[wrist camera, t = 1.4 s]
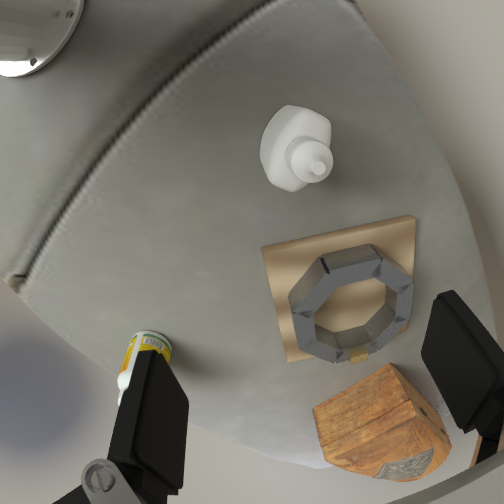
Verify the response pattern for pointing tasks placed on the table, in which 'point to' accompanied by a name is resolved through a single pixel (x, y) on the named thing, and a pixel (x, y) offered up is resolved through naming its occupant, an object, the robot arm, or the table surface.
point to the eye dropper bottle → (296, 148)
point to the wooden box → (382, 429)
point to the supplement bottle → (137, 343)
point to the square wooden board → (344, 297)
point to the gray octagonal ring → (343, 273)
